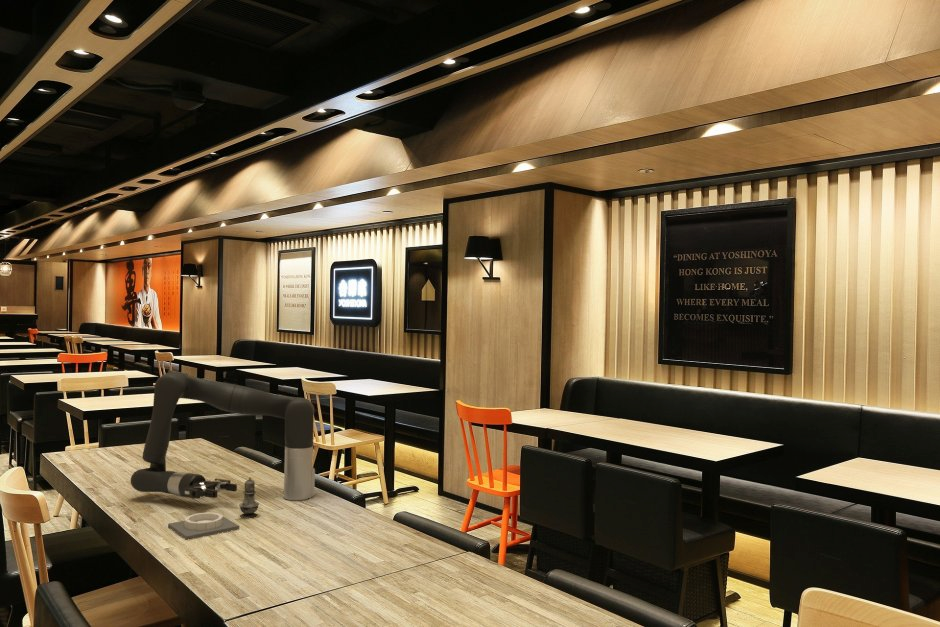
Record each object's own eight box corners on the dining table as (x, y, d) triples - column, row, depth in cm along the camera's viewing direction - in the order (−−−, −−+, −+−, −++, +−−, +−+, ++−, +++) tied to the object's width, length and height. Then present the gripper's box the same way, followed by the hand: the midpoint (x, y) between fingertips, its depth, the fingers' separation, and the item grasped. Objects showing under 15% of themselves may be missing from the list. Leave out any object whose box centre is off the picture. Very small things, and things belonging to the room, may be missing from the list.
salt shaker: (252, 519, 205) (253, 480, 205) (234, 518, 206) (236, 478, 206) (262, 514, 210) (263, 475, 210) (245, 512, 212) (246, 474, 212)
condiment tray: (219, 517, 206) (219, 507, 206) (239, 529, 196) (239, 518, 196) (168, 527, 196) (168, 516, 196) (186, 540, 186) (186, 529, 185)
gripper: (169, 477, 211) (210, 484, 205) (203, 468, 224) (242, 474, 218) (168, 502, 211) (209, 509, 205) (202, 491, 224) (242, 497, 218)
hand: (226, 491), depth 212 cm, fingers open, 8 cm apart
